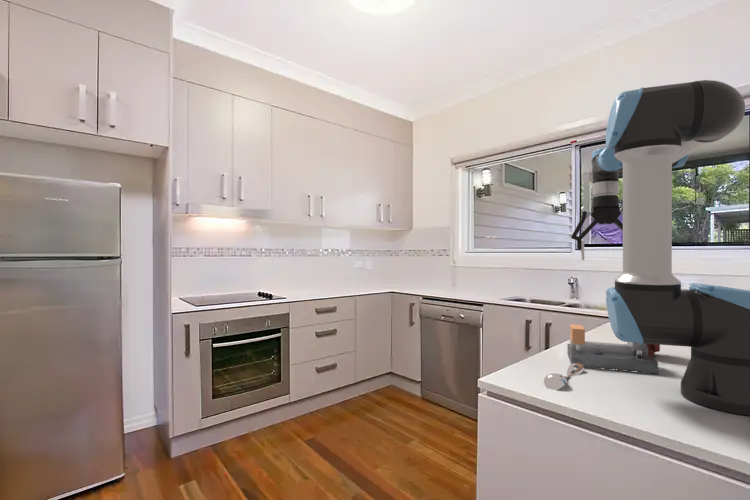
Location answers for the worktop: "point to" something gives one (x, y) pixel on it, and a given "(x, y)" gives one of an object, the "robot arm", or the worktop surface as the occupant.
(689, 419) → the worktop surface
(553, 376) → the grey spoon
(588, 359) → the hole plate
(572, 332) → the block
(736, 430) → the worktop surface
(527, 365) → the worktop surface
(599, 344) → the bar
